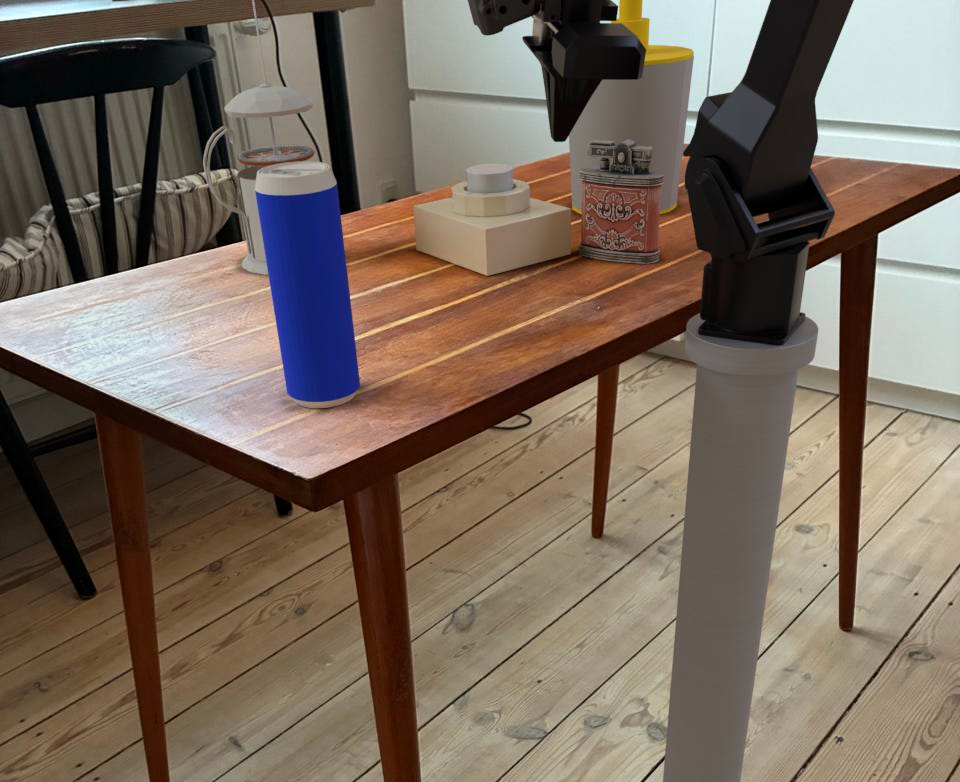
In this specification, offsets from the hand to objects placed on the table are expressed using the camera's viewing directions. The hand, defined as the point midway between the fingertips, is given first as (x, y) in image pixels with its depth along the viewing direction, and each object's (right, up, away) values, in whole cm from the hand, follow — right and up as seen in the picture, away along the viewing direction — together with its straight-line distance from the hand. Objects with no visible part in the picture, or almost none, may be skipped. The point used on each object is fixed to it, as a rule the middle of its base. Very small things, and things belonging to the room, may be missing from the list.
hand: (558, 140), depth 88 cm
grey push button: (-6, 0, +10) cm, 12 cm away
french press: (-26, -5, +14) cm, 30 cm away
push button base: (-5, -4, +14) cm, 15 cm away
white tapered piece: (+9, +5, +26) cm, 28 cm away
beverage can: (-18, -25, -14) cm, 34 cm away
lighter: (+7, -6, +11) cm, 14 cm away
